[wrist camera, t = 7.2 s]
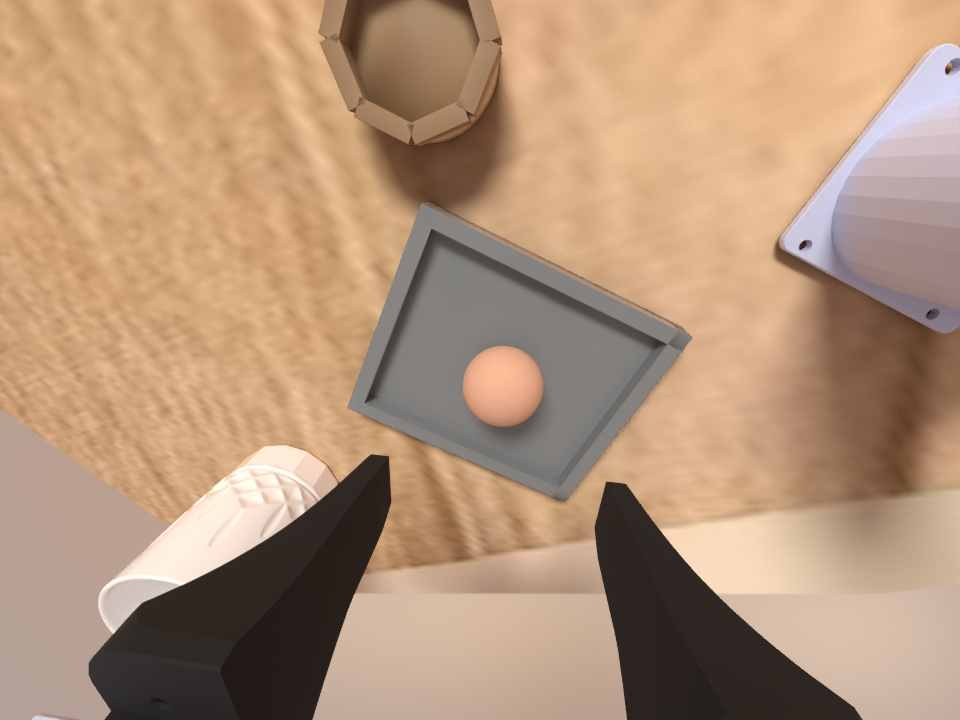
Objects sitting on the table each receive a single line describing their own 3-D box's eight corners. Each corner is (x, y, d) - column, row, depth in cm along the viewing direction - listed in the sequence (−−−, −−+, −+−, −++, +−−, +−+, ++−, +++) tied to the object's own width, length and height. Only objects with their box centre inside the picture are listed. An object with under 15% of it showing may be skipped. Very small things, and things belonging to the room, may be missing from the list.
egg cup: (525, 11, 15) (526, -23, 13) (464, 168, 18) (453, 167, 15) (382, -69, 15) (351, -123, 12) (340, 104, 17) (306, 92, 15)
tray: (682, 326, 20) (692, 337, 19) (562, 485, 25) (564, 502, 24) (428, 201, 19) (421, 203, 17) (356, 395, 24) (347, 408, 23)
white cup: (368, 512, 28) (294, 673, 19) (278, 532, 30) (172, 687, 21) (310, 423, 25) (191, 563, 16) (215, 452, 27) (61, 591, 18)
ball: (544, 335, 20) (550, 370, 17) (538, 401, 22) (542, 446, 19) (467, 331, 21) (456, 365, 17) (467, 397, 22) (457, 440, 19)
